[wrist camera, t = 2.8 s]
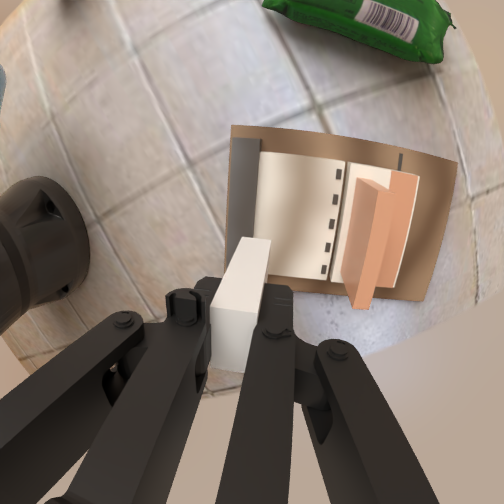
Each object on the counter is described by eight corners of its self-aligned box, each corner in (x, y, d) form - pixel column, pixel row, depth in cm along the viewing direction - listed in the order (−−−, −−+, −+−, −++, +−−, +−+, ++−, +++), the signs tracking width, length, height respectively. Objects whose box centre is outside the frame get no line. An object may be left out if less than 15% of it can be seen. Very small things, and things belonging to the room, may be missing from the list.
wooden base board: (225, 277, 28) (219, 293, 25) (233, 125, 23) (226, 124, 20) (419, 296, 27) (430, 312, 24) (452, 161, 21) (469, 165, 18)
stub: (329, 275, 25) (340, 319, 19) (347, 161, 22) (371, 172, 15) (390, 281, 25) (415, 323, 19) (413, 174, 21) (454, 190, 15)
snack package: (430, 82, 19) (459, 74, 14) (260, 21, 19) (255, -4, 14) (440, 24, 16) (466, 9, 11) (281, -35, 16) (279, -64, 11)
